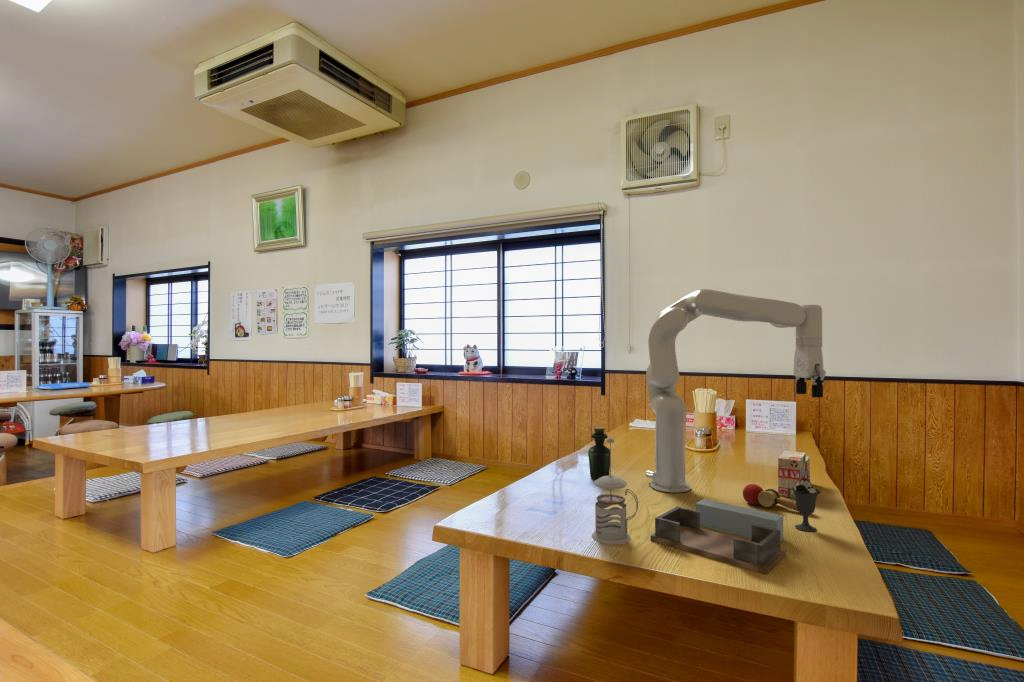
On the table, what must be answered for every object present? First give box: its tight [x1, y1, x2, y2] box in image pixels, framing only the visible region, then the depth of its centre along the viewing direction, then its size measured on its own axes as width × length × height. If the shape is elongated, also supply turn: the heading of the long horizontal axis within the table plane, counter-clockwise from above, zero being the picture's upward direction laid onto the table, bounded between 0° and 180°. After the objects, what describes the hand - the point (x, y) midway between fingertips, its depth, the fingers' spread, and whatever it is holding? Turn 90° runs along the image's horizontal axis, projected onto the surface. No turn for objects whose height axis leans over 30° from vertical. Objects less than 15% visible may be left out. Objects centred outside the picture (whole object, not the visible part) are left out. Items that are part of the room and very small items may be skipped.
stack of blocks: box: [777, 450, 811, 499], centre depth 168 cm, size 21×6×12 cm, turn 143°
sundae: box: [791, 470, 821, 533], centre depth 134 cm, size 7×7×15 cm
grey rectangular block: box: [695, 498, 784, 542], centre depth 132 cm, size 20×5×6 cm, turn 47°
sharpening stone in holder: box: [650, 506, 787, 575], centre depth 122 cm, size 27×13×6 cm, turn 46°
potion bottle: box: [587, 426, 610, 481], centre depth 184 cm, size 8×8×18 cm
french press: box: [591, 437, 639, 546], centre depth 129 cm, size 10×12×25 cm
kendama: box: [742, 483, 800, 513], centre depth 150 cm, size 8×6×18 cm
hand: (809, 395), depth 167 cm, fingers open, 9 cm apart
